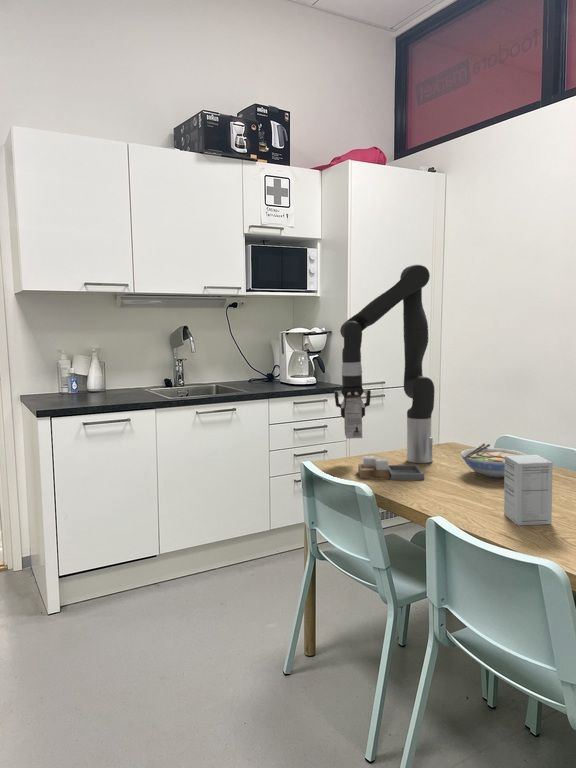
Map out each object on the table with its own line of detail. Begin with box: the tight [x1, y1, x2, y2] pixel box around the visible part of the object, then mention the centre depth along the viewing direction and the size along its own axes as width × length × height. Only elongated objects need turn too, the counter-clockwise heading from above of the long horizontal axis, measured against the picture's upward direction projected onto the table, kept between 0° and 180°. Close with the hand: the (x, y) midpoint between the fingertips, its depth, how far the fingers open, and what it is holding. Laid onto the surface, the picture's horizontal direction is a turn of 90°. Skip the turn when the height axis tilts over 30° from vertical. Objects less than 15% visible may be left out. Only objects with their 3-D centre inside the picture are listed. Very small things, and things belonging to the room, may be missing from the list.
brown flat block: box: [357, 463, 390, 479], centre depth 203 cm, size 10×9×3 cm
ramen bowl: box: [460, 443, 528, 479], centre depth 200 cm, size 25×23×8 cm
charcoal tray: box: [388, 464, 425, 481], centre depth 202 cm, size 11×13×2 cm
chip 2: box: [375, 458, 389, 470], centre depth 200 cm, size 4×4×3 cm
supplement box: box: [503, 454, 554, 526], centre depth 154 cm, size 10×9×17 cm
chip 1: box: [362, 455, 376, 467], centre depth 204 cm, size 4×4×3 cm
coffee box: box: [343, 395, 363, 440], centre depth 218 cm, size 9×6×16 cm
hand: (352, 417), depth 218 cm, fingers closed on coffee box, 6 cm apart
